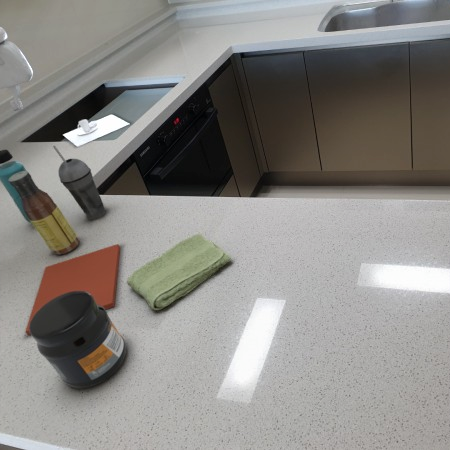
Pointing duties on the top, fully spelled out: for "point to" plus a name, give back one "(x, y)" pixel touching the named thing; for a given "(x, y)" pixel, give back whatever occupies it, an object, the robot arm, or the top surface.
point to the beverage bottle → (6, 172)
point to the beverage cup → (81, 186)
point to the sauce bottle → (44, 214)
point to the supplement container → (78, 339)
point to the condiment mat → (81, 278)
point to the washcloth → (177, 271)
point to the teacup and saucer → (94, 129)
